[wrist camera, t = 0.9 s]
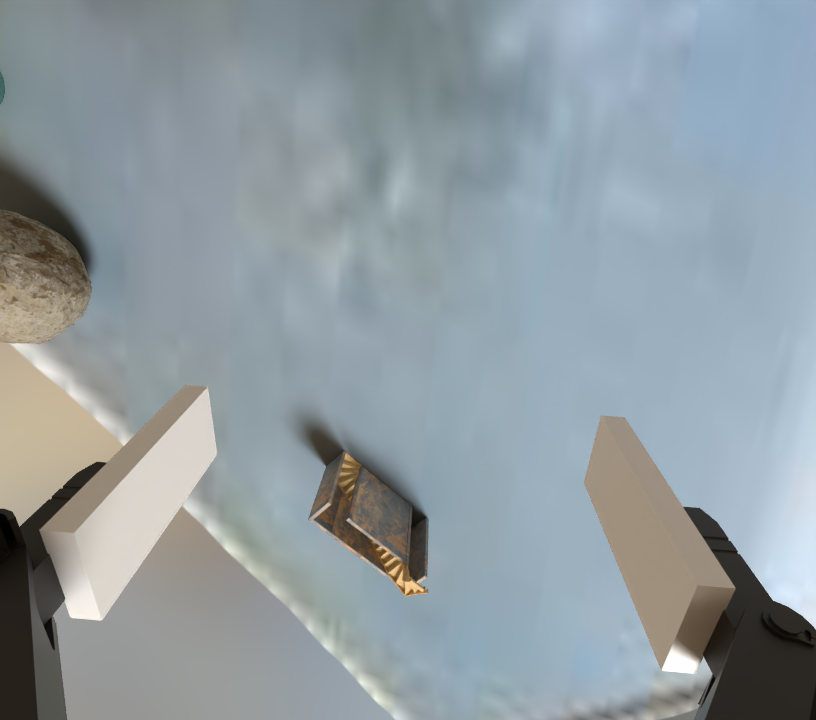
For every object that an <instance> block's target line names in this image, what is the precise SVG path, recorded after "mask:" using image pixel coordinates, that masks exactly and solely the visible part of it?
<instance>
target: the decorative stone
mask: <svg viewBox="0 0 816 720" xmlns="http://www.w3.org/2000/svg"><path fill="white" fill-rule="evenodd" d="M91 292H92V288H91V281H90V279H89V277H88V273H87V271H86V268H85V265H84V263H83V262H82V259H81V257H80V255H79V253H78V251H77V250H76V248H75V247H74V246H73V245H72V244H71V242H69V241H68V240H67V239H66V238H64V237H63V236H62V235H61V234H59V233H57V232H56V231H54V230H53V229H51V228H49V227H47V226H46V225H44V224H43V223H41V222H39V221H36V220H32V219H30V218H27V217H25V216H22V215H20V214H19V213H17V212H12V211H7V210H2V209H0V342H6V343H33V344H41V343H43V342H46V341H49V340H51V339H52V338H54V337H55V336H56V335H58V334H60V333H62V332H63V331H64V330H65V329H66V328H68V327H69V326H71V325H74V324H75V322H76V321H77V320H78V319H79V318H81V317H82V316H83V313H84V311H85V310H86V308H87V305H88V302H89V299H90V294H91Z"/></svg>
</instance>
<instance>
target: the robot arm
mask: <svg viewBox="0 0 816 720" xmlns="http://www.w3.org/2000/svg"><path fill="white" fill-rule="evenodd" d="M216 455H217V449H216V442H215V435H214V428H213V421H212V414H211V407H210V400H209V393H208V387H202V386H188V385H185V386H184V387H183V388H182V389H181V390H180V391H179V392H178V393H177V394H176V395H175V396H174V397H173V398H172V399H171V400H170V401H169V402H168V403H167V404H166V405H165V406H164V407H163V408H162V409H161V410H160V411H159V412H158V413H157V414H156V415H155V416H154V417H153V418H152V419H151V420H150V421H149V422H148V423H147V424H146V425H145V426H144V427H143V428H142V429H141V430H140V431H139V432H138V433H137V434H136V435H135V436H134V437H133V438H132V439H131V440H130V441H129V442H128V443H127V444H126V445H125V446H124V447H123V448H122V449H121V450H120V451H119V452H118V453H117V454H116V455H115V456H114V457H113V458H112V459H111V460H110V461H109V462H107V463H104V462H96V463H94V464H92V465H90V466H88V467H87V468H85V469H83V470H81V471H80V472H78V473H77V474H76V475H74V476H73V477H72V478H71V479H70V480H69V481H68V482H67V483H66V484H65V485H64V486H63V489H59V490H58V491H57V492H56V493H55V494H54V495H53V496H52V499H51V500H50V499H49V500H48V501H47V502H46V503H45V504H43V505H42V506H41V507H40V508H39V509H38V510H37V511H36V512H35V513H34V514H33V515H32V516H31V517H30V518H28V519H27V520H26V521H25V522H24V523H23V524H22V525H21V526H20V527H19V525H18V523H17V520H16V517H15V516H14V514H13V512H12V511H9V510H6V509H0V720H67V715H66V706H65V698H64V689H63V681H62V671H61V663H60V654H59V645H58V636H57V628H56V623H55V620H54V617H53V614H54V613H55V611H56V610H57V609H58V608H59V607H60V605H61V604H62V603H63V602H64V601H65V603H66V606H67V609H68V612H69V614H70V617H71V618H80V619H91V620H103V618H104V617H105V615H106V614H107V612H108V611H109V610H110V608H111V607H112V605H113V604H114V602H115V601H116V599H117V598H118V597H119V595H120V593H121V592H122V591H123V589H124V588H125V586H126V585H127V583H128V582H129V581H130V579H131V578H132V576H133V575H134V574H135V572H136V570H137V569H138V567H139V566H140V565H141V563H142V562H143V561H144V559H145V558H146V556H147V555H148V553H149V552H150V550H151V549H152V547H153V546H154V545H155V543H156V542H157V540H158V539H159V537H160V536H161V535H162V533H163V532H164V530H165V529H166V527H167V526H168V524H169V523H170V522H171V520H172V519H173V517H174V516H175V514H176V513H177V511H178V510H179V509H180V507H181V506H182V504H183V503H184V501H185V500H186V499H187V497H188V496H189V494H190V493H191V491H192V490H193V488H194V487H195V486H196V484H197V483H198V481H199V480H200V478H201V477H202V475H203V474H204V473H205V471H206V470H207V468H208V467H209V465H210V464H211V462H212V461H213V460H214V458H215V457H216ZM584 484H585V486H586V489H587V491H588V493H589V496H590V498H591V501H592V503H593V506H594V508H595V510H596V513H597V515H598V518H599V520H600V523H601V525H602V527H603V530H604V532H605V535H606V537H607V540H608V542H609V544H610V547H611V549H612V552H613V554H614V556H615V559H616V561H617V564H618V566H619V569H620V571H621V573H622V576H623V578H624V581H625V583H626V586H627V588H628V590H629V593H630V595H631V598H632V600H633V603H634V605H635V607H636V610H637V612H638V615H639V617H640V620H641V622H642V624H643V627H644V629H645V632H646V634H647V637H648V639H649V641H650V644H651V646H652V649H653V651H654V654H655V656H656V658H657V661H658V663H659V666H660V668H661V671H672V672H683V673H694V674H696V671H697V669H698V667H699V665H700V663H701V661H702V659H703V657H704V658H705V660H706V662H707V664H708V666H709V668H710V670H711V672H712V673H713V675H712V677H711V679H710V681H709V683H708V685H707V687H706V689H705V691H704V693H703V695H702V697H701V699H700V701H699V703H698V704H699V705H700V706H699V709H698V711H697V714H696V716H695V719H694V720H816V630H815V628H814V627H813V626H812V625H811V624H810V623H809V622H808V621H807V620H806V619H805V618H804V617H803V616H801V615H800V614H798V613H797V612H795V611H794V610H792V609H791V608H789V607H787V606H785V605H782V604H780V603H777V602H775V601H773V600H772V599H771V597H770V596H769V595H768V593H767V592H766V590H765V589H764V587H763V586H762V585H761V583H760V582H759V580H758V579H757V578H756V576H755V575H754V573H753V572H752V571H751V569H750V568H749V566H748V565H747V564H746V562H745V561H744V559H743V558H742V557H741V555H740V554H738V553H737V552H738V551H737V550H736V548H735V547H734V545H733V544H732V543H731V541H728V537H727V536H726V534H725V533H724V531H723V530H722V528H721V527H720V526H719V524H718V523H717V522H716V521H715V520H714V519H712V518H711V517H710V516H709V515H708V514H706V513H705V512H704V511H703V510H701V509H700V508H692V507H683V506H682V505H681V503H680V502H679V500H678V499H677V497H676V496H675V494H674V493H673V491H672V489H671V488H670V486H669V485H668V483H667V482H666V480H665V479H664V477H663V476H662V474H661V472H660V471H659V469H658V468H657V466H656V465H655V463H654V462H653V460H652V459H651V457H650V456H649V454H648V452H647V451H646V449H645V448H644V446H643V445H642V443H641V442H640V440H639V439H638V437H637V436H636V434H635V432H634V431H633V429H632V428H631V426H630V425H629V423H628V422H627V420H626V419H625V417H613V416H601V418H600V422H599V426H598V430H597V434H596V438H595V442H594V445H593V449H592V453H591V457H590V461H589V465H588V469H587V473H586V477H585V481H584Z"/></svg>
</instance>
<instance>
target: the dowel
mask: <svg viewBox="0 0 816 720" xmlns="http://www.w3.org/2000/svg"><path fill="white" fill-rule="evenodd" d="M4 93H5V86H4V81H3V77H2V75H1V73H0V104H1V102H2V101H3V98H4Z"/></svg>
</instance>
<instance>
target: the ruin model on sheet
mask: <svg viewBox="0 0 816 720" xmlns="http://www.w3.org/2000/svg"><path fill="white" fill-rule="evenodd" d="M412 507H413V506H412V505H410V504H408V503H407V502H406V501H405V500H403V499H402V498H401V497H400V496H398V495H397V494H396V493H395V492H393V491H392V490H391V489H390V488H388V487H387V486H386V485H385V484H384V483H382V482H381V481H380V480H379V479H377V478H376V477H375V476H374V475H372V474H371V473H370V472H369V471H367V470H366V469H365V468H364V467H363V466H362V464H359V463H358V462H357V461H356V460H354V459H353V458H352V457H351V456H349V455H348V454H347V452H344V451H343V452H342V453H341V454H340V455H339V456H337V457H336V458H335V459H334V460H333V461H332V462H331V463H330V464H329V465H327V466H326V469H325V472H324V475H323V478H322V481H321V484H320V486H319V489H318V492H317V495H316V498H315V501H314V504H313V507H312V510H311V513H310V516H309V519H308V520H310V521H311V522H312V523H314V524H315V525H316V526H318V527H319V528H320V529H322V530H323V531H324V532H326V533H327V534H329V535H330V536H331V537H333V538H334V539H335V540H337V541H338V542H339V543H341V544H342V545H343V546H345V547H346V548H348V549H349V550H350V551H352V552H353V553H354V554H356V555H357V556H358V557H360V558H361V559H362V560H364V561H365V562H366V563H368V564H369V565H371V566H372V567H373V568H375V569H376V570H377V571H379V572H380V573H381V574H383V575H384V576H385V577H387V578H388V579H389V580H391V581H392V582H394V583H395V584H396V585H397V587H398V588H399V589H400V590H401V592H402V593H403V594H404V595H405V597H406V596H410V595H415V594H424V593H428V589H427V590H425V587H423V586H421V585H420V584H419V583H420V582H422V581H423V580H425V579H426V578H427V564H428V518H427V517H426V518H425V519H423V520H422V521H421V522H420V523H418V524H417V525H416V526H414V527H413V528H412V529H411V522H412Z"/></svg>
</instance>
